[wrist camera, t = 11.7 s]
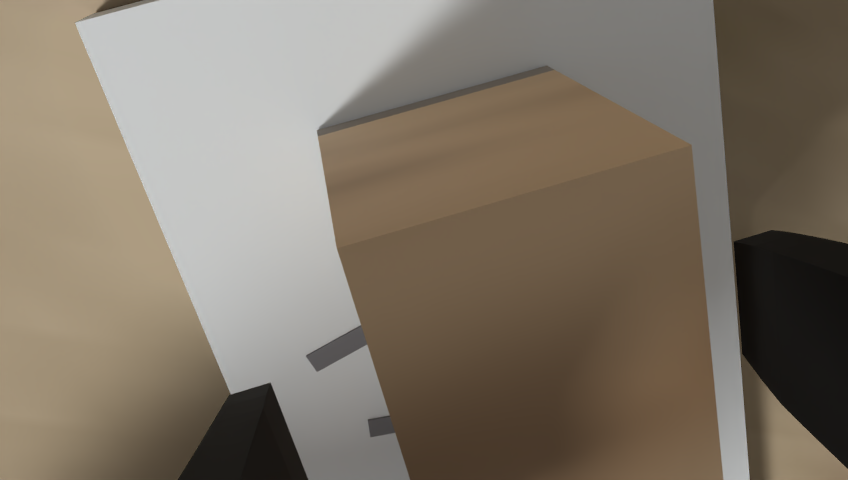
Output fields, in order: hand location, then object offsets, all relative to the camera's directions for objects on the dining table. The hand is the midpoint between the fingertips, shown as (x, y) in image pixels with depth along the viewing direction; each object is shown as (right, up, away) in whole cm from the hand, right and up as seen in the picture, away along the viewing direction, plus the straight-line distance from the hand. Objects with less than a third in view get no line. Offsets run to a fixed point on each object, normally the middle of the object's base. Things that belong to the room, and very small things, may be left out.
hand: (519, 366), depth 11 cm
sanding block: (0, +1, +3) cm, 3 cm away
